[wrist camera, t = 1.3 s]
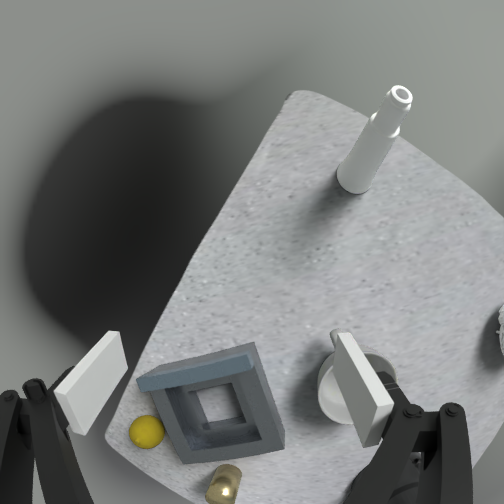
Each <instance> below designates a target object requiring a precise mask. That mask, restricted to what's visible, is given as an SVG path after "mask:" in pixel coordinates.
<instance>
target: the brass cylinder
mask: <svg viewBox="0 0 504 504" xmlns="http://www.w3.org/2000/svg"><path fill="white" fill-rule="evenodd" d="M241 477H242V472H241V470H240V469H239V468H237V467H236V466H234V465H230V464H223V465H220V466H219V467H218V468H217V469H216V472H215V474H214V476H213V479H212V481H211V483H210V486H209V488H208V490H207V493H206V495H205V499H206V501H207V502H208V503H209V504H234V503H235V499H236V496H237V492H238V488H239V485H240V481H241Z"/></svg>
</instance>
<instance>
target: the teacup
mask: <svg viewBox="0 0 504 504" xmlns="http://www.w3.org/2000/svg"><path fill="white" fill-rule="evenodd" d="M337 333H343V332H342V330H341V329H339V328H337V329H334V330H333V331H331V332H330V337H331V340H332V343H333V345H334V348H335V349H336V341H337ZM358 346H359V348H360V349H361V351H362V352H363V354H364V355H365V357H366V359H367V360H368V362H369V363H370V365H371V366H372V368H373V370H374V371H375V372H382V371H385V372H386V373H388V374H389V375H391V376H392V377H393V379H394V380H395V382H396V383H397V385H398V375H397V371H396V368H395V367H394V365H393V364H392V362H391V361H390V360H389V359H388V358H387V357H385V356H383V355H382V354H380V353H379V352H378V351H376V350H375V349H373V348H371V347H368V346H365V345H358ZM334 356H335V352H333V353H332V354H331V355H330V356H329V357H328V358H327V359H326V360H325V361H324V363H323V364H322V366H321V368H320V371H319V374H318V380H317V387H318V402H319V405H320V408H321V410H322V411H323V412H324V414H325V415H326V416H327V417H328V418H330V419H331V420H333V421H335V422H337V423H340V424H344V425H354V423H353V421H352V418H351V416H350V413H349V411H348V408H347V406H346V403H345V401H344V398H343V396H342V393H341V391H340V389H339V386H338V384H337V381H336V379H335V376H334V374H333V372H332V370H333V363H334Z"/></svg>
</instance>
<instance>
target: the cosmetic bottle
mask: <svg viewBox="0 0 504 504" xmlns="http://www.w3.org/2000/svg"><path fill="white" fill-rule="evenodd" d="M411 102H412V95H411V93H410V92H409V91H408V90H407V89H406V88H404V87H402V86H394V87H393V88H392V89H391V90H390V91H388V92H387V93H386V95H385V97H384V100H383V102H382V104H381V106H380V108H379V110H378V112H376V113H374V114H373V115H372V116H371V118H370V119H369V121H368V123H367V124H366V126H365V128H364V129H363V131H362V133H361V135H360V136H359V138H358V140H357V142H356V143H355V145H354V147H353V149H352V150H351V152H350V153H349V155H348V156H347V157H346V159H345V160H344V161H343V162H342V163H341V164H340V165H339V167H338V169H337V179H338V181H339V183H340V185H341V186H342V187H343V188H344V189H345V190H347V191H348V192H351V193H354V194H360V193H364V192H366V191H367V190H368V189H369V188H370V187H371V185H372V182H373V179H374V177H375V174H376V172H377V170H378V169H379V167H380V165H381V163H382V162H383V160H384V158H385V157H386V155H387V154H388V152H389V150H390V148H391V147H392V145H393V143H394V141H395V140H396V138H397V136H398V134H399V130H400V128H399V126H400V124H401V123H402V121H403V120H404V118H405V117H406V115H407V113H408V112H409V110H410V108H411Z"/></svg>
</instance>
